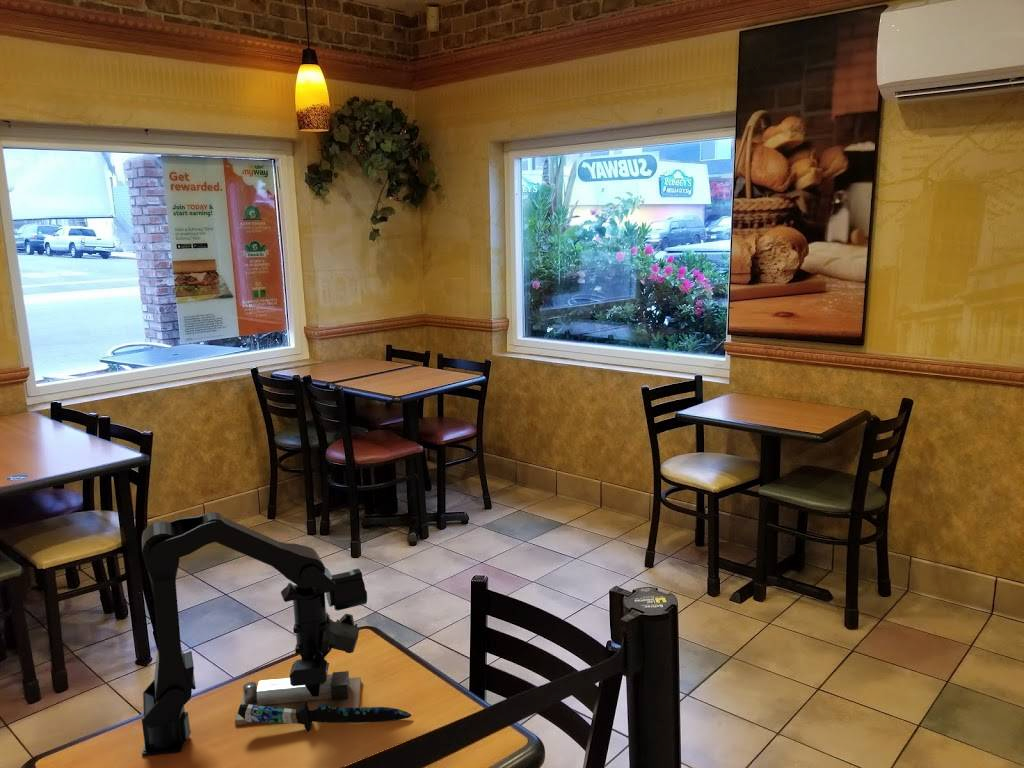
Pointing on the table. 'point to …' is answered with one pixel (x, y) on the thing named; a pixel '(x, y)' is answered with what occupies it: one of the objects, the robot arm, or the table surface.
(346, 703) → the flat board
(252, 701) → the tong hinge
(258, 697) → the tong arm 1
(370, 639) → the table surface
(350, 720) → the knife
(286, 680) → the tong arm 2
